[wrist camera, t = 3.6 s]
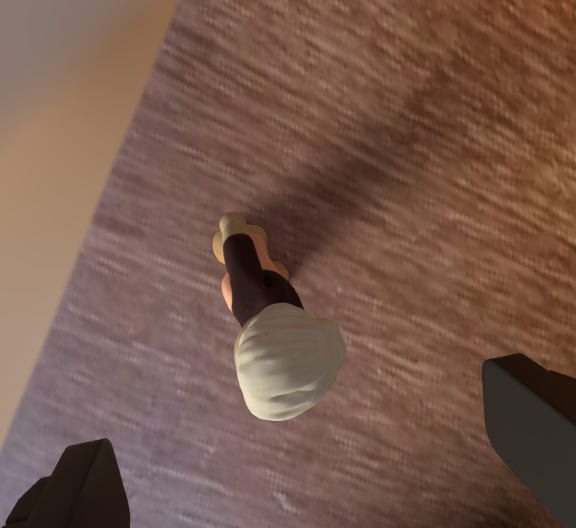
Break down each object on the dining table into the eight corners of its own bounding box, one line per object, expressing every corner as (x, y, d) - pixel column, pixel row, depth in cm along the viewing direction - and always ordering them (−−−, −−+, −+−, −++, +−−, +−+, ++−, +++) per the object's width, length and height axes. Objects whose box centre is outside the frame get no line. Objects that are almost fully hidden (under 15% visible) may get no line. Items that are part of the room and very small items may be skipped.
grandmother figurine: (177, 237, 24) (129, 327, 11) (238, 189, 24) (256, 228, 11) (272, 348, 26) (318, 526, 13) (329, 304, 25) (428, 443, 13)
